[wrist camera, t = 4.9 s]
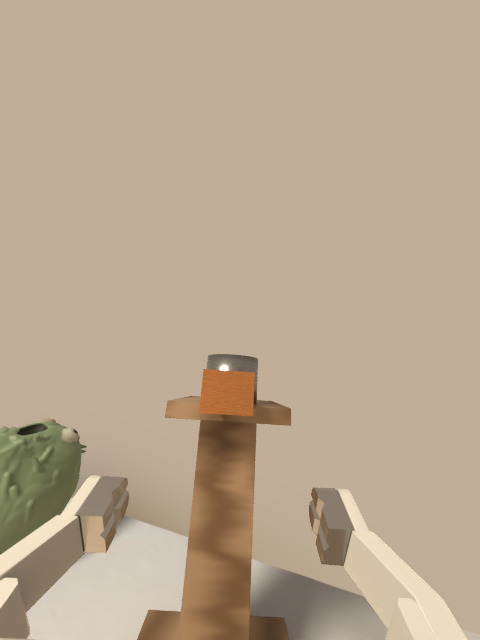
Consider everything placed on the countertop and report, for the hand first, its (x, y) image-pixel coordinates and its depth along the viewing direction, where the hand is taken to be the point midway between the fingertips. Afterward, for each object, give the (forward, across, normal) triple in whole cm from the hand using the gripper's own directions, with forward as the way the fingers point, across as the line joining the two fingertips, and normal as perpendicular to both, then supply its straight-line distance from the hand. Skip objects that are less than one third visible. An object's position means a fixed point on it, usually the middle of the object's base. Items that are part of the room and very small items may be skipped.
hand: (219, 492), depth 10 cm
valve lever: (+11, 0, +3) cm, 11 cm away
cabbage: (+15, +34, +36) cm, 51 cm away
